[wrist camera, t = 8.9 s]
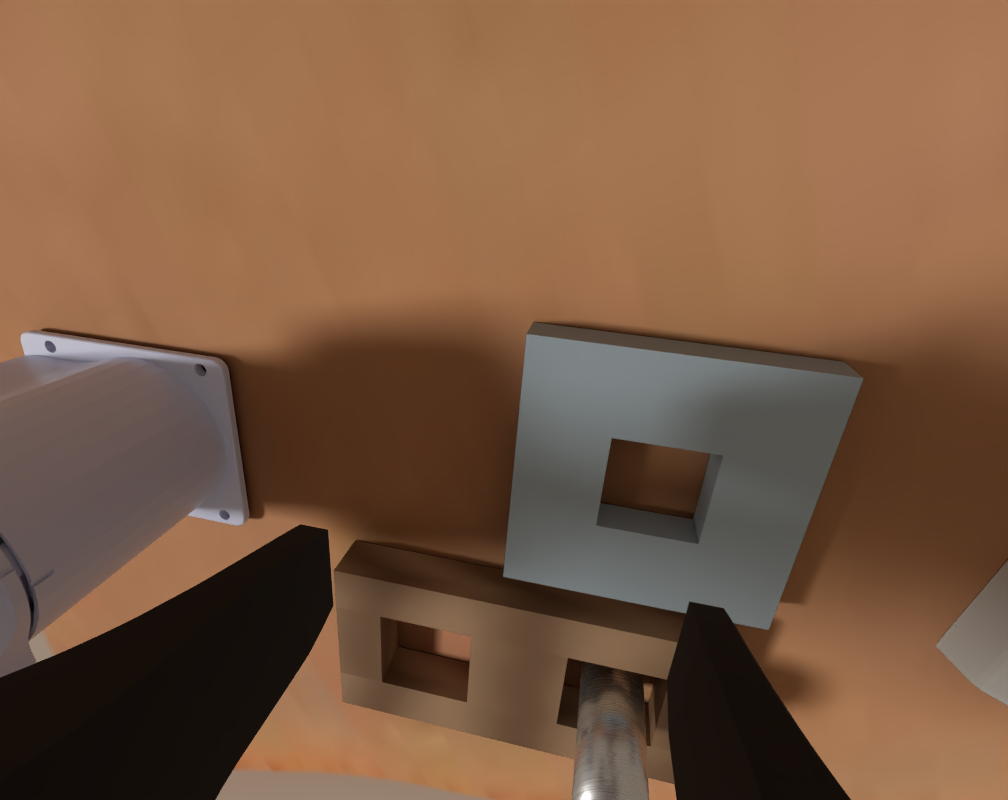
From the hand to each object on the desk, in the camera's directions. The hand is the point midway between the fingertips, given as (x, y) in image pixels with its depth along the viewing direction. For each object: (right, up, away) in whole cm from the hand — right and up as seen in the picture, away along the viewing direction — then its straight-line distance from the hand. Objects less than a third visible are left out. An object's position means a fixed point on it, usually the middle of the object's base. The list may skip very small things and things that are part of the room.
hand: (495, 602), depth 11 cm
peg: (+5, -7, +13) cm, 16 cm away
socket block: (+6, +1, +9) cm, 11 cm away
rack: (+1, -7, +14) cm, 16 cm away
